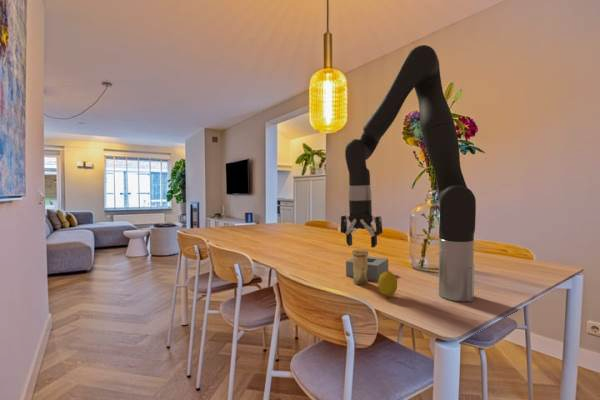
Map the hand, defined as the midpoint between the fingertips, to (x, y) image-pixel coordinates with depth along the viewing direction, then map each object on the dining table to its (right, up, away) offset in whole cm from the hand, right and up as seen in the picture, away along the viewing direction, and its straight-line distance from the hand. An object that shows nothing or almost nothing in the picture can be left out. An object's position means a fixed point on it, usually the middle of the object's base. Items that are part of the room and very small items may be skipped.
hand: (361, 246), depth 106 cm
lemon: (+5, -14, -13) cm, 19 cm away
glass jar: (0, -13, +1) cm, 13 cm away
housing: (+4, -12, +11) cm, 17 cm away
